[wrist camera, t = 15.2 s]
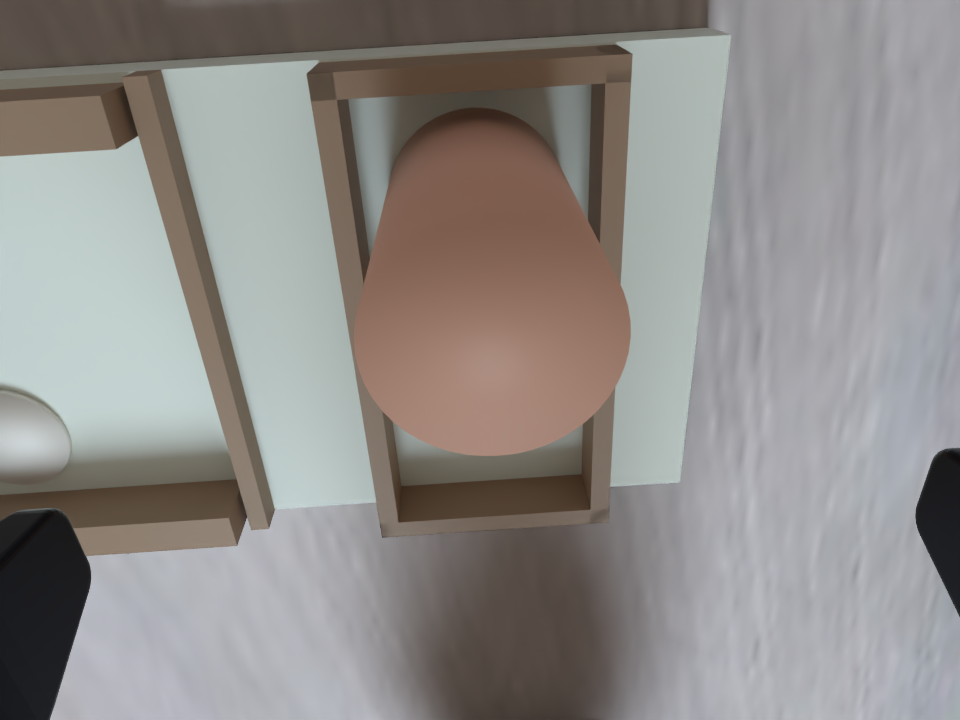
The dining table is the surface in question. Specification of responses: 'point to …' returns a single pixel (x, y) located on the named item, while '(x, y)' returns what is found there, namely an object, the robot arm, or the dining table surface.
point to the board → (316, 281)
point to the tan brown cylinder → (487, 293)
